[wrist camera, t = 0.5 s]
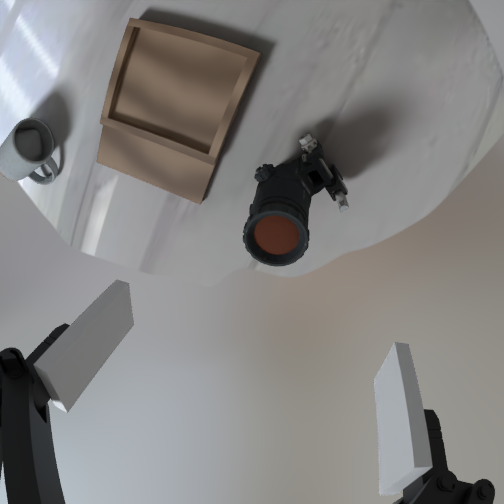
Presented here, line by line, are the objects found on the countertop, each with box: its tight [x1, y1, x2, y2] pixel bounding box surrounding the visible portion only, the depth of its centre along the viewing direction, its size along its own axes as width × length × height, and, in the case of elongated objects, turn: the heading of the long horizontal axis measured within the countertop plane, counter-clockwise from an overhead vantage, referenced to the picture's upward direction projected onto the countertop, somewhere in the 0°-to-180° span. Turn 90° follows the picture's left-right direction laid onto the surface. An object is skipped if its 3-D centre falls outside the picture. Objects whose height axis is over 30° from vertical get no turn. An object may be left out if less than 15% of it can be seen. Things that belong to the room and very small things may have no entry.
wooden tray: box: [96, 18, 262, 204], centre depth 32 cm, size 20×16×2 cm
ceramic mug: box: [0, 118, 58, 185], centre depth 35 cm, size 11×8×8 cm
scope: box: [243, 134, 349, 266], centre depth 30 cm, size 8×14×10 cm
